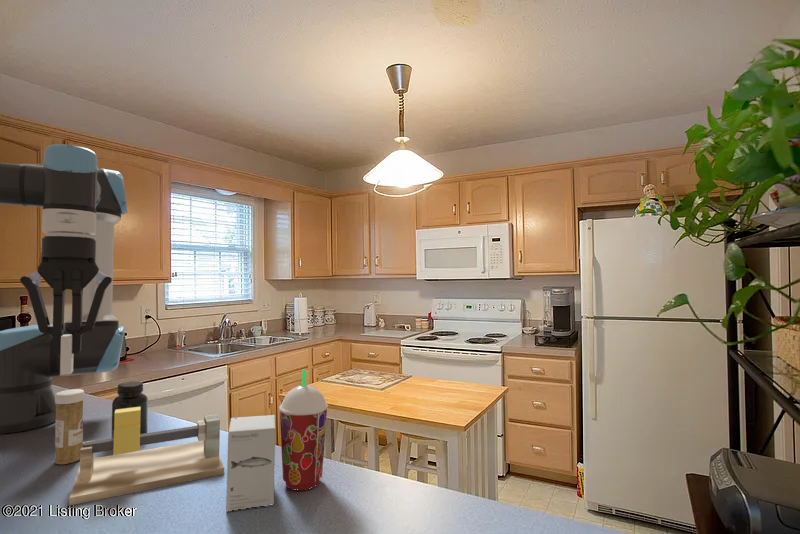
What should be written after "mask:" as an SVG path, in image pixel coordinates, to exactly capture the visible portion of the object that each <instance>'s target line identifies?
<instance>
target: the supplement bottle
mask: <svg viewBox="0 0 800 534" xmlns="http://www.w3.org/2000/svg"><path fill="white" fill-rule="evenodd" d="M143 392H144V382H143V381H127V382H122V383H119V384H118V385H117V392H116V394H117V396H116V397H114V399H113V400H112V402H111V430H110V431H111V432H110V433H111V437H110V438H114V415H115V410H117V409H125V408H133V407H141V413H140V434H144V433H148V420H149V419H148V417H149V416H148V415H149V398H148V396H147V395H146V394H145V393H143Z"/></svg>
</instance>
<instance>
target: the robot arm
mask: <svg viewBox="0 0 800 534" xmlns="http://www.w3.org/2000/svg"><path fill="white" fill-rule="evenodd" d="M43 153H44V155H43V156H44V157H43V162H42V163H17V164H16V163H8V162H2V161H1V162H0V205H9V206H23V207H35V208H42V226H41V232H42V233H44V234H46V235H45V236H43V237H42V238H41V258H40V259H41V260H40V263H39V265H38V266H37V269H36V271H34V272H32V273H30V274H28V275H23V276H21V277H20V279H19V282H20V283H21V284H22V285H23V286H24V287H25V289H26V290H27V292H28V296H29V299H30V302H31V306H32V311H33V313H34V317H35V320H36V324H32V325H25V326H19V327H13V328H7V329H3V330H0V435H1V434H12V433H18V432H23V431H29V430H35V429H38V428H41V427H42V428H43V427H44V426H48V425H50V424H53V423H54V422H56V403H55V395H56V393H55V392H54V389H53V378H56V377H67V376H68V377H69V376H70V377H71V376H78V375H79V376H80V375H82V376H83V375H92V374H94V375H97V374H101V373H109V372H113V371H114V370H116V369H118V368H119V367H118V366H119V364H120V358H121V355H122V348H123V344H124V343H123V342H124V337H125V329H126V328H125V327H124V326H122V325H119V318H117V317H116V316H115V315H114V314H113V295H114V294H113V291H114V290H113V289H114V256H115V255H114V253H115V252H114V250H115V249H114V247H115V244H114V243H115V226H116V225H117V224H118V223H119V222H121V221H122V215H126V214H128V205H127V199H126V198H127V197H126V189H125V183H124V182H125V181H124V177H123V175H122V173H121V172H119V171H117V170H114V169H113V170H112V169H107V168H106V169H105V168H103V167H101V168H99V167H98V157H97V153H95V151H93V150H91V149H89V148H86V147H83V146H79V145H78V146H77V145H73V144H66V143H65V144H63V143H59V144H58V143H54V144H50V145H48V146H46V147H45V149H44V152H43ZM41 278H42V279H43V280H44V282H46V284H47V285H48V286H49V287H50V288H51V289H52V290H53V291H52V295H53V304H52V305H53V307H52V310H53V311H52V323H50V320H49V316H48V312H47V308H46V305H45V301H44V298H43V294H42V290H41V288H40V285H41V284H42V283H41V282H42V281H41ZM66 290H71V299H72V300H71V301H72V302H71V314H70V315H71V316H69V317H68V318H67V319H66V320H65V302H66V301H65V299H66V298H65V296H66Z"/></svg>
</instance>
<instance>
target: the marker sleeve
mask: <svg viewBox="0 0 800 534" xmlns="http://www.w3.org/2000/svg"><path fill="white" fill-rule="evenodd" d="M140 413H141V407H133V408H125V409H117V410H115V415H114V450H112V451H113V454H112V455H117V454H123V453H129V452H135V451H141V446H140Z"/></svg>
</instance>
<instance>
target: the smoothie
mask: <svg viewBox="0 0 800 534" xmlns="http://www.w3.org/2000/svg"><path fill="white" fill-rule="evenodd" d="M301 372H302V376H301V377H302V380H301V385H297V386H295V387H293V388H292V389H290V390H289V391H288V392H287V393H286V395H285V397H284V398H283V401H282V402H281V404H280V405H279V407H278V409H279V420H280V421H279V423H280V424H279V425H280V443H281V444H280V445H281V447H280V449H281V467H282V480H283V481H284V482H285V485H286V488H288V487H289V488H291V489H296V490H297V489H298V490H305V489H309V488H311V487H314V486H315V485H317V484H318V483H319V484H320V480H321V478H322V477H323V470H324V469H323V468H324V455H325V440H326V425H327V416H328V415H327V414H328V413H327V412H328V407H329V405H328V403H327V402H326V400H325V397H324V395H323V394H322V392H321V391H320V390H319V389H318V388H316V387H314V386H312V385H309V384H307V369H302V371H301ZM319 484H318V485H319ZM318 485H317V486H318ZM289 488H288V489H289ZM314 488H315V487H314ZM291 489H290V490H291ZM309 490H310V489H309ZM305 491H306V490H305Z"/></svg>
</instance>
